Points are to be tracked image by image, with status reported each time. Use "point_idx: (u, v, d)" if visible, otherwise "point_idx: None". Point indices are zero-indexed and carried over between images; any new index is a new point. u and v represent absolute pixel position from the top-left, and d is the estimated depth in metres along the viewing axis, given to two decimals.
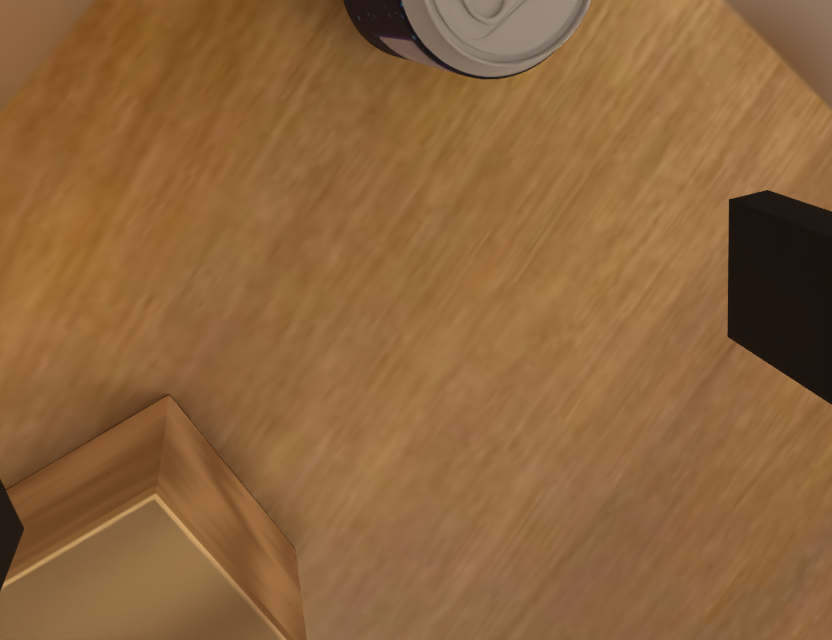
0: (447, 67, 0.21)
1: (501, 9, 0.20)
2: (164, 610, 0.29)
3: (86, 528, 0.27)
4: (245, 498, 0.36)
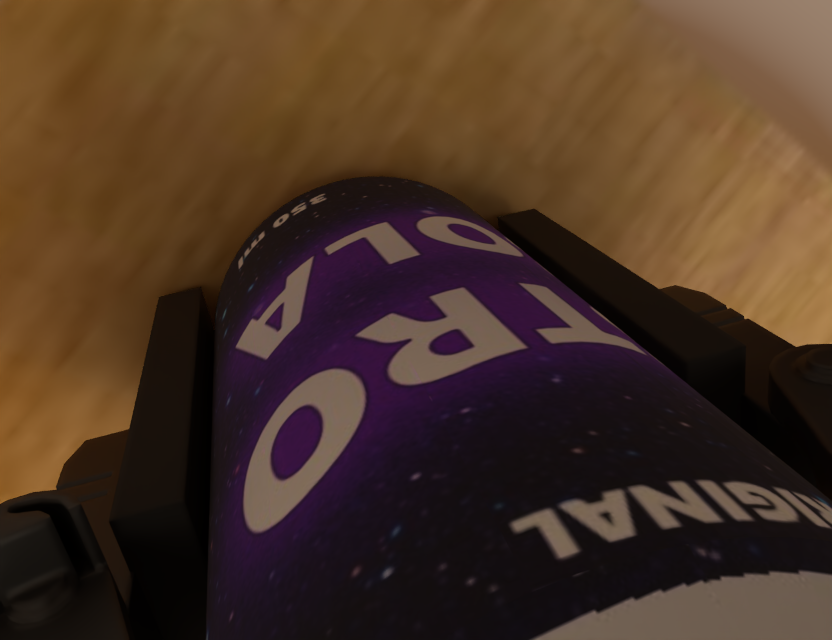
0: None
1: None
2: None
3: None
4: None
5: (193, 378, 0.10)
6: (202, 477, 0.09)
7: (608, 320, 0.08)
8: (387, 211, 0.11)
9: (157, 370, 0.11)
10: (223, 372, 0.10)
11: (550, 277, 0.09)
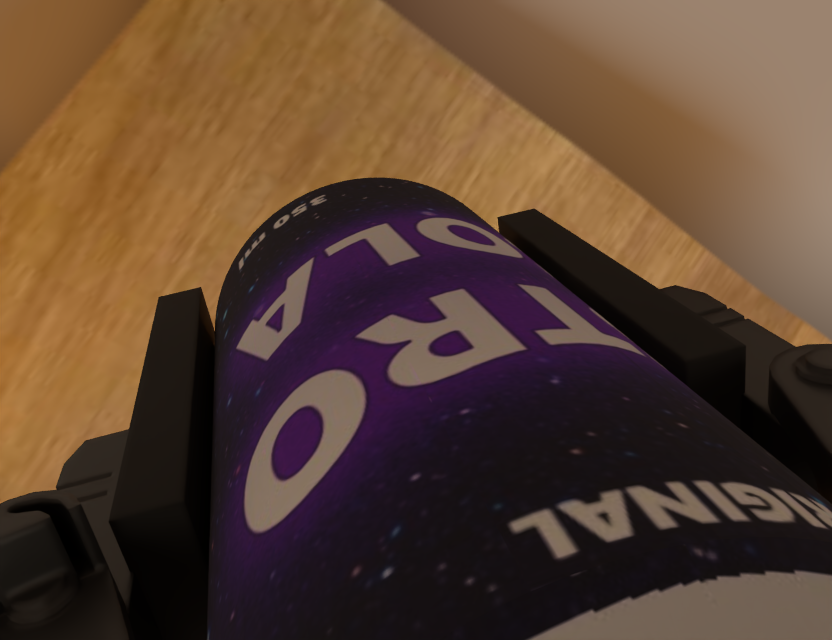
0: None
1: None
2: None
3: None
4: None
5: (194, 378, 0.10)
6: (202, 477, 0.09)
7: (607, 321, 0.08)
8: (387, 212, 0.11)
9: (157, 370, 0.11)
10: (224, 373, 0.10)
11: (549, 278, 0.09)
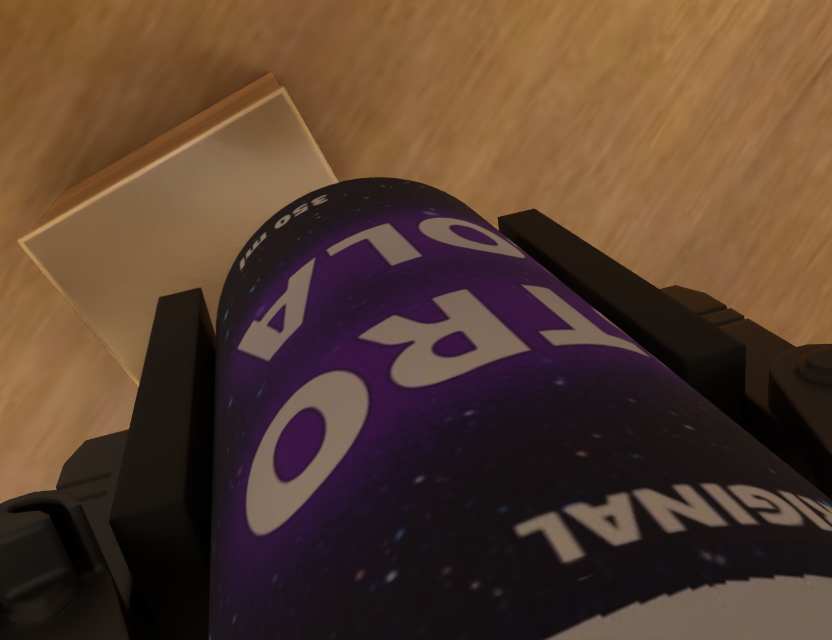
0: None
1: None
2: None
3: (213, 125, 0.27)
4: None
5: (193, 377, 0.10)
6: (202, 477, 0.09)
7: (610, 322, 0.08)
8: (389, 212, 0.11)
9: (157, 370, 0.11)
10: (225, 374, 0.10)
11: (552, 279, 0.09)
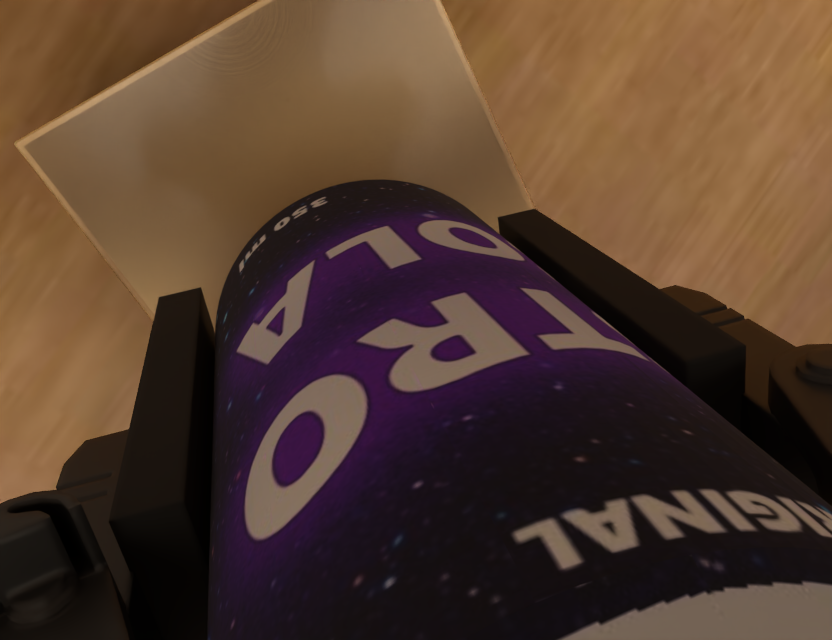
0: None
1: None
2: (391, 137, 0.21)
3: None
4: None
5: (193, 378, 0.10)
6: (202, 477, 0.09)
7: (610, 325, 0.08)
8: (388, 215, 0.11)
9: (157, 370, 0.11)
10: (224, 376, 0.10)
11: (551, 281, 0.09)
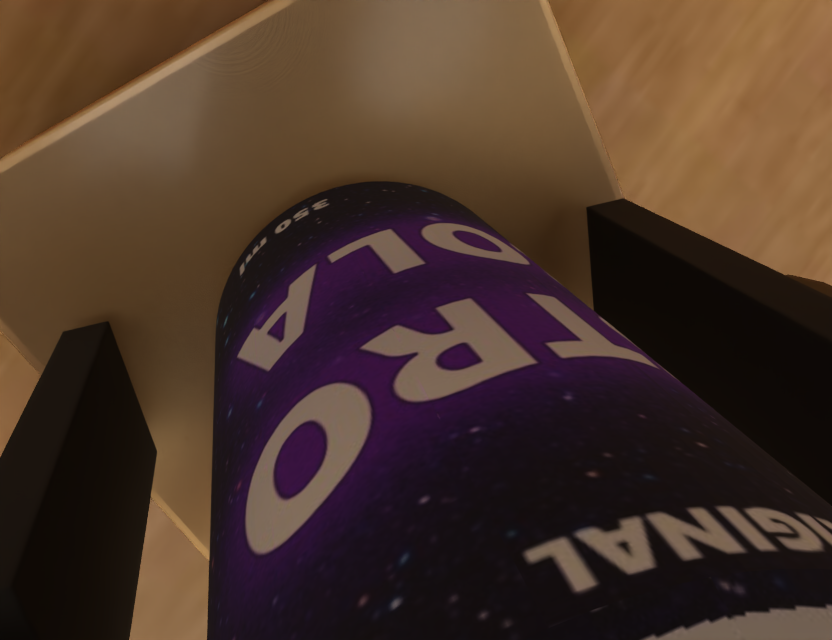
0: None
1: None
2: (467, 199, 0.14)
3: None
4: None
5: (67, 430, 0.09)
6: (59, 547, 0.08)
7: (617, 331, 0.08)
8: (391, 217, 0.10)
9: (34, 420, 0.10)
10: (224, 382, 0.09)
11: (558, 286, 0.09)
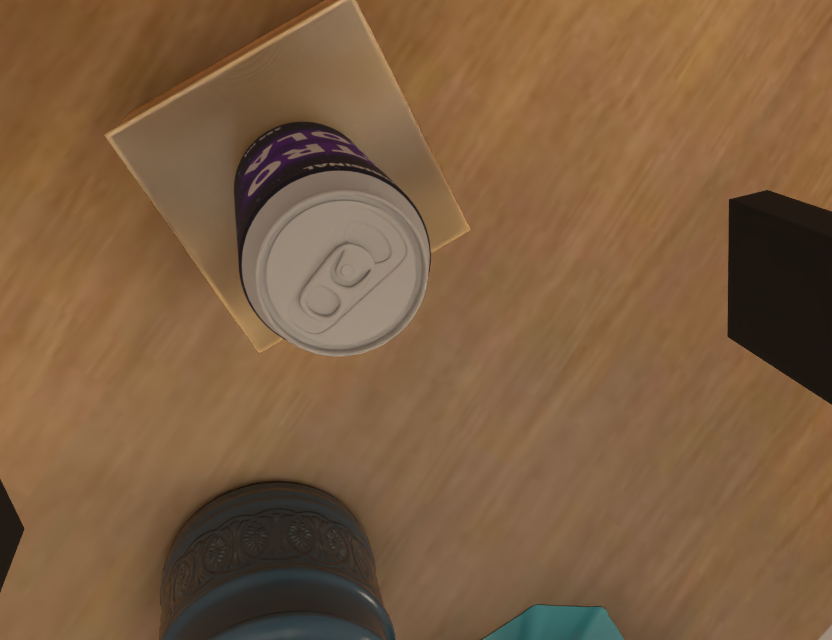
0: None
1: (337, 309, 0.21)
2: (347, 132, 0.31)
3: (286, 29, 0.30)
4: None
5: None
6: None
7: (368, 159, 0.25)
8: (302, 130, 0.28)
9: None
10: (239, 184, 0.27)
11: (354, 148, 0.26)
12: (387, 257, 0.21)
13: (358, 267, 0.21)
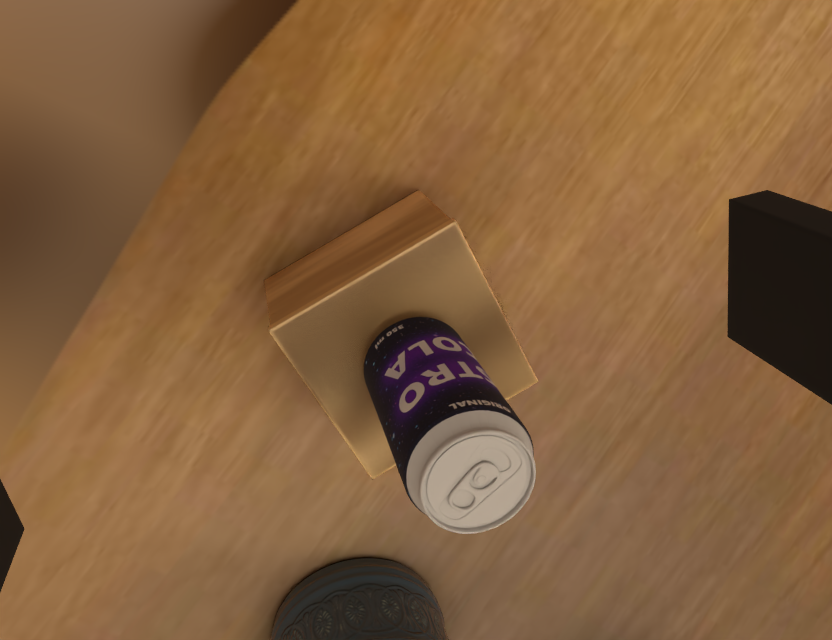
0: None
1: (473, 503, 0.31)
2: (447, 317, 0.40)
3: (405, 247, 0.39)
4: None
5: None
6: None
7: (479, 369, 0.35)
8: (423, 335, 0.37)
9: None
10: (380, 382, 0.36)
11: (467, 357, 0.35)
12: (507, 467, 0.30)
13: (488, 476, 0.30)
